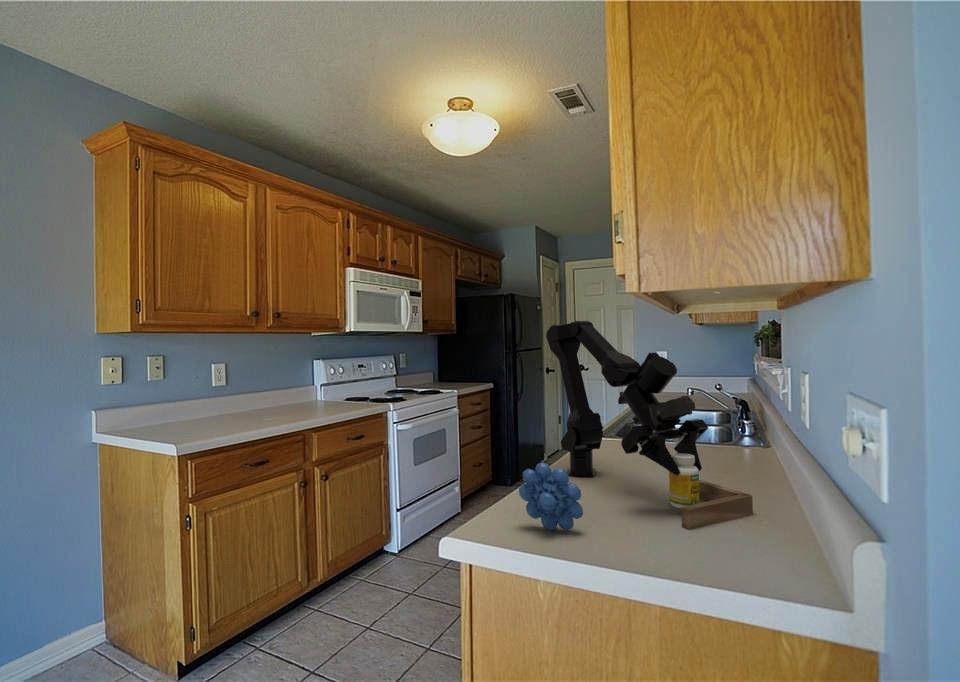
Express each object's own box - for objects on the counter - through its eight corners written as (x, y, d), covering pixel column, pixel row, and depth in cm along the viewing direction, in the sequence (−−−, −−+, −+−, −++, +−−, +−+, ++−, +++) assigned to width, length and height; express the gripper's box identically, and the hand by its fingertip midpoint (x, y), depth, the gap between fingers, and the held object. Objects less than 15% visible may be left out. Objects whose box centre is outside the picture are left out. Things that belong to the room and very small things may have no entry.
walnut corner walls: (625, 503, 101) (624, 486, 101) (684, 491, 108) (684, 475, 108) (689, 529, 86) (688, 509, 86) (753, 513, 93) (752, 495, 93)
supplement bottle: (675, 498, 99) (674, 450, 99) (703, 503, 95) (702, 454, 95) (665, 505, 95) (664, 456, 95) (694, 511, 91) (693, 460, 91)
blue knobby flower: (513, 535, 86) (511, 467, 86) (523, 521, 92) (521, 458, 93) (579, 543, 82) (578, 471, 82) (585, 528, 88) (583, 461, 88)
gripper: (630, 385, 95) (675, 454, 85) (699, 380, 102) (749, 442, 92) (604, 420, 102) (643, 487, 92) (671, 413, 110) (714, 474, 100)
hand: (689, 472), depth 94 cm, fingers closed on supplement bottle, 5 cm apart
